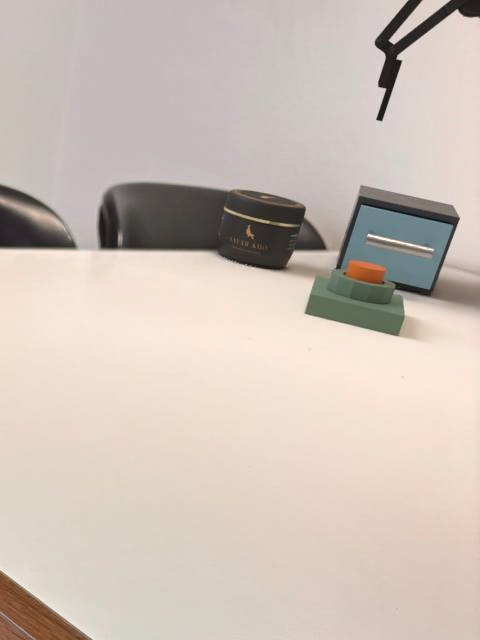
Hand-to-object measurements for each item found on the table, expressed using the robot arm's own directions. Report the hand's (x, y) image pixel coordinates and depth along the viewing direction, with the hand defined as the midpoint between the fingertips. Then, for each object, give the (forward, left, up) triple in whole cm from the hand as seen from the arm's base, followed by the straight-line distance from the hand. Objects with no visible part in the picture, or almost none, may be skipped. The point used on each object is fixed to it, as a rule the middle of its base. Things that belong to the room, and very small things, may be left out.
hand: (436, 133), depth 127 cm
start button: (-13, +18, -15) cm, 26 cm away
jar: (+10, +14, -18) cm, 25 cm away
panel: (-13, +18, -18) cm, 28 cm away
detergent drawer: (+3, -3, -17) cm, 18 cm away
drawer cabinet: (+7, -7, -18) cm, 21 cm away
